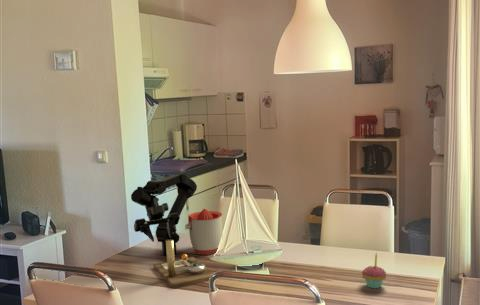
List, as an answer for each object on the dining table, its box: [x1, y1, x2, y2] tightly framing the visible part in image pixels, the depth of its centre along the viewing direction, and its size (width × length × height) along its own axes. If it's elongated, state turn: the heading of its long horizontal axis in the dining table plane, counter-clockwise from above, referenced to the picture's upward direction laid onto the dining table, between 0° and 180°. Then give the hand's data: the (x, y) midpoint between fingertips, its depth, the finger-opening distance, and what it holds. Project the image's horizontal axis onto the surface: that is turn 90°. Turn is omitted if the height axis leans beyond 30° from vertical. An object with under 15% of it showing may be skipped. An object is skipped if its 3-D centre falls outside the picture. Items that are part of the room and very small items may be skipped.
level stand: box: [153, 256, 214, 289], centre depth 197 cm, size 26×18×2 cm
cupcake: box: [361, 252, 387, 289], centre depth 174 cm, size 9×8×12 cm
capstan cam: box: [166, 240, 206, 277], centre depth 197 cm, size 19×15×14 cm
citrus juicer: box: [184, 208, 223, 256], centre depth 222 cm, size 16×17×20 cm
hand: (162, 239), depth 199 cm, fingers open, 7 cm apart
